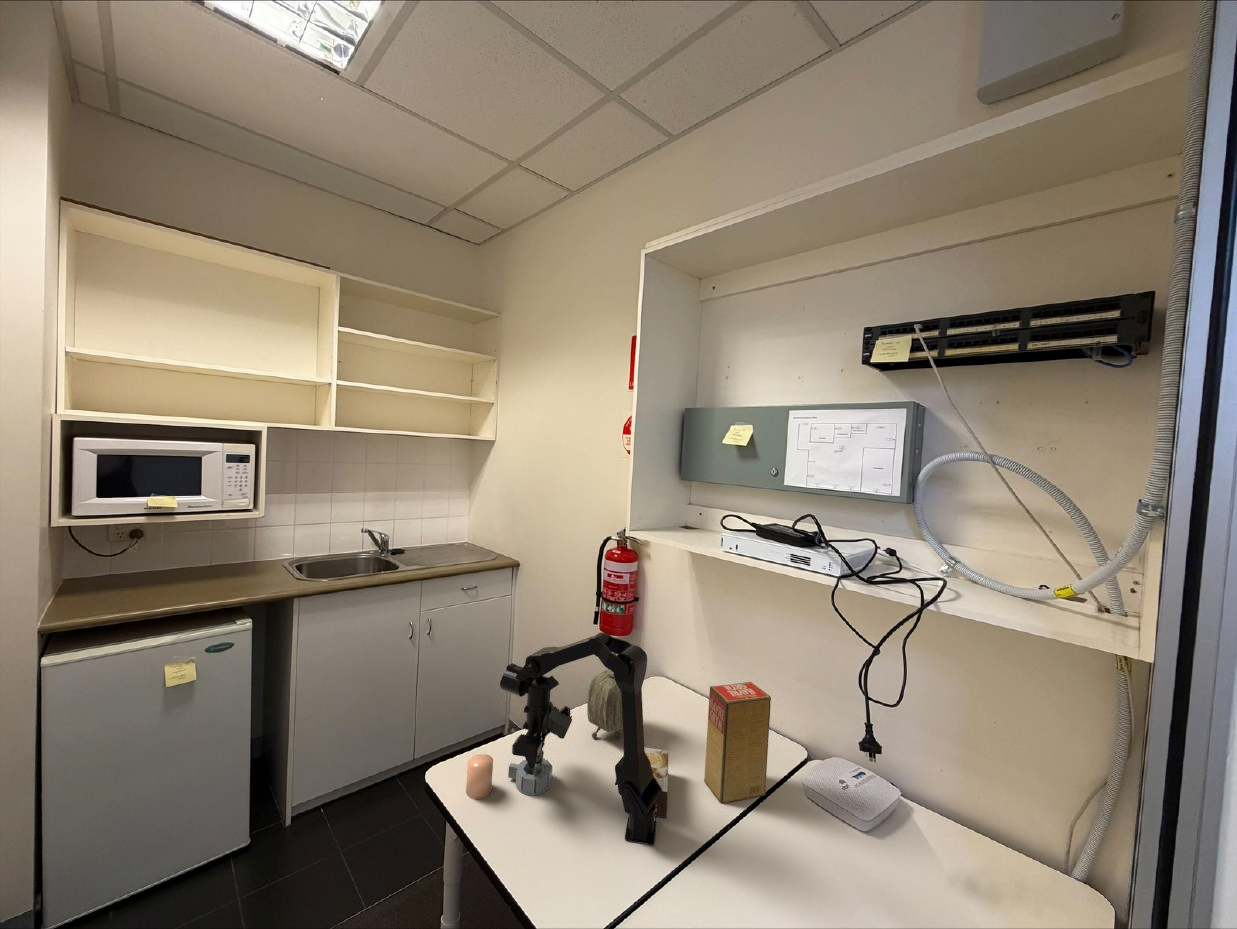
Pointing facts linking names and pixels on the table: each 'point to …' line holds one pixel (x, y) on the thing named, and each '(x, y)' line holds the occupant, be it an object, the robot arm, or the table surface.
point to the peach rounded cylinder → (479, 776)
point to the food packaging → (737, 741)
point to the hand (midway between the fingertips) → (535, 762)
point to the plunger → (539, 760)
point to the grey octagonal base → (531, 777)
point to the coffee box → (659, 777)
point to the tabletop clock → (605, 703)
